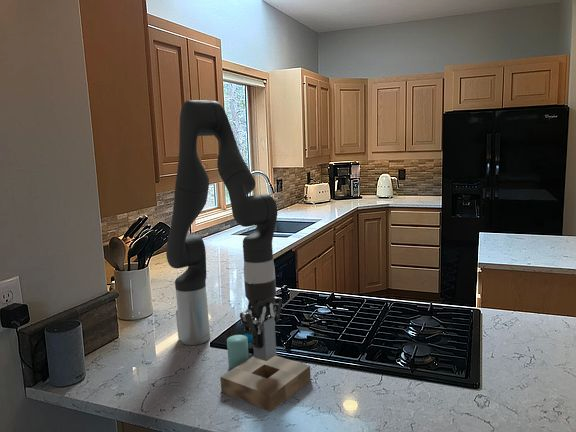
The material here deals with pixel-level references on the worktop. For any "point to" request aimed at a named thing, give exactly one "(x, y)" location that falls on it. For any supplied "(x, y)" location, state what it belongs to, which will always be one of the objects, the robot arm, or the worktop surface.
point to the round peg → (237, 350)
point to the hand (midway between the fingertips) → (264, 343)
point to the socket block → (265, 381)
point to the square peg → (266, 340)
